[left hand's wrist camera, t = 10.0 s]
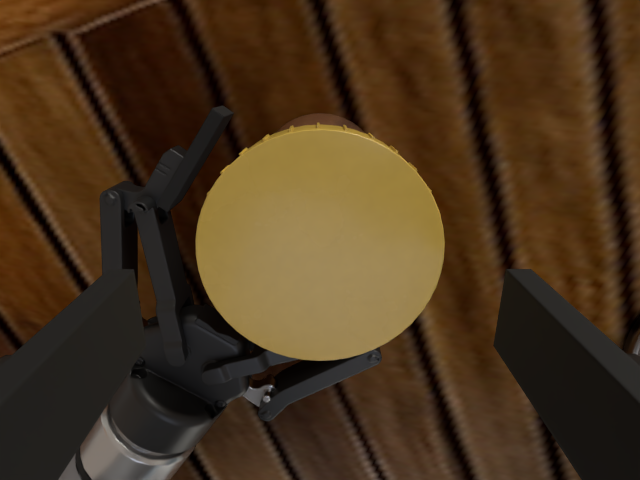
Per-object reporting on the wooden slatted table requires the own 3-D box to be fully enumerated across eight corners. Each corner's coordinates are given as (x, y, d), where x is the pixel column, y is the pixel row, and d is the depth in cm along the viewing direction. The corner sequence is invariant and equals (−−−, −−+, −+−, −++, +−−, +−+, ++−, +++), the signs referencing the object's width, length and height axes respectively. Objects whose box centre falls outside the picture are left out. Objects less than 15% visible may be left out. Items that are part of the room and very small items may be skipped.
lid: (477, 180, 18) (494, 192, 16) (373, 365, 21) (378, 391, 20) (252, 80, 17) (243, 80, 15) (177, 294, 20) (163, 315, 18)
